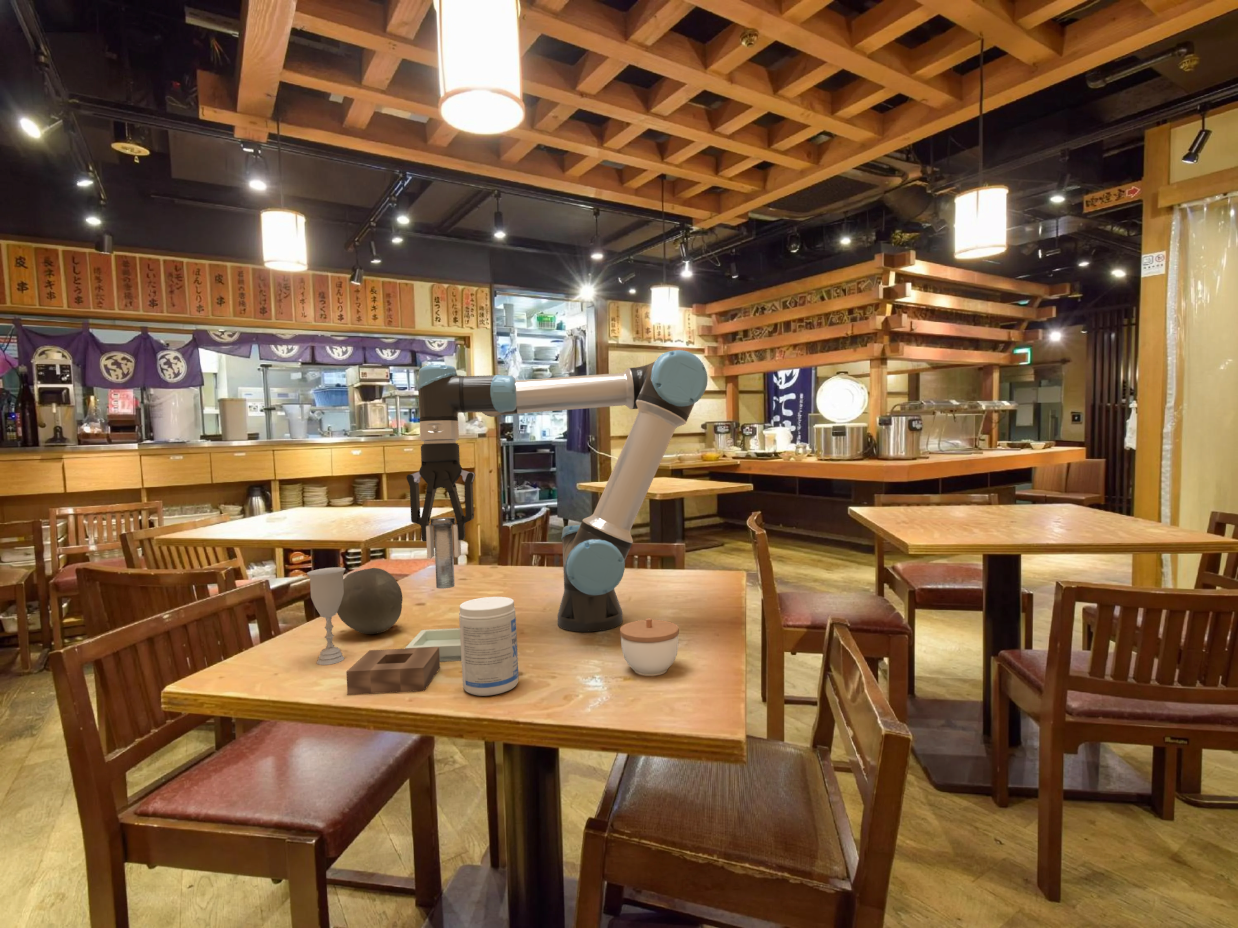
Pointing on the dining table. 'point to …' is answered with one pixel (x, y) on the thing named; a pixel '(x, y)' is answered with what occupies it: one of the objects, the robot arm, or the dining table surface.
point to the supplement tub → (488, 645)
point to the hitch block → (393, 670)
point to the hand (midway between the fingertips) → (444, 556)
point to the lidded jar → (649, 645)
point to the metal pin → (444, 551)
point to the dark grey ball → (370, 601)
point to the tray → (440, 642)
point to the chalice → (327, 606)
